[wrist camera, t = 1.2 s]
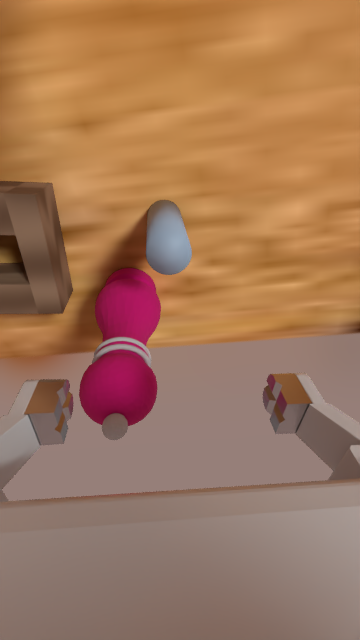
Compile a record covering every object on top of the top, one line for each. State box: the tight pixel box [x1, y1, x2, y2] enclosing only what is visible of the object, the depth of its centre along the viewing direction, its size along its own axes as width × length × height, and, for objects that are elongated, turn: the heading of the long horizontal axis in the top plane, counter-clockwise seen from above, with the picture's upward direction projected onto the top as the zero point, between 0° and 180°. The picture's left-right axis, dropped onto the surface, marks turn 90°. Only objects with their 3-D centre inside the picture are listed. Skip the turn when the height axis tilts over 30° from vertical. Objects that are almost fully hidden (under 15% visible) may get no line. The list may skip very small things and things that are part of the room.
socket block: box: [0, 181, 73, 314], centre depth 29 cm, size 12×10×5 cm
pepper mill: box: [79, 268, 161, 440], centre depth 27 cm, size 7×7×20 cm
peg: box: [146, 200, 192, 275], centre depth 26 cm, size 4×4×10 cm
